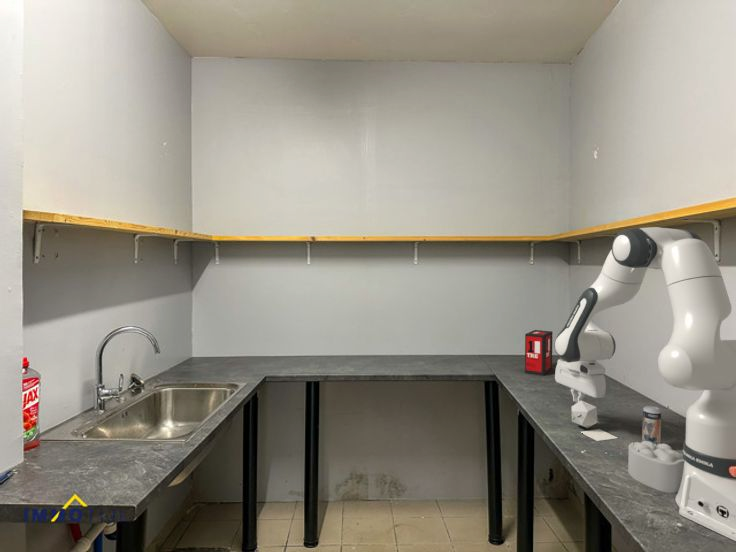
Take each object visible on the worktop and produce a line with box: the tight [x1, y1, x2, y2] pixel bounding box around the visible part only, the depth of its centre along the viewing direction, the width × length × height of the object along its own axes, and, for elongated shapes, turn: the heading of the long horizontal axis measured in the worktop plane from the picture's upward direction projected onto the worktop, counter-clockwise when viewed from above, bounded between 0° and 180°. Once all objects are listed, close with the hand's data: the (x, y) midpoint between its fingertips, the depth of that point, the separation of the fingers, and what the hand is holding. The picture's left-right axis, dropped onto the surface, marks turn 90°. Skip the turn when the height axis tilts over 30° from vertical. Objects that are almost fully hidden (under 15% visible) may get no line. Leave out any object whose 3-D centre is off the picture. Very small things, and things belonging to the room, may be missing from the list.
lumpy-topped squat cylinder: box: [627, 441, 684, 494], centre depth 115 cm, size 10×13×9 cm
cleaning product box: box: [524, 329, 553, 377], centre depth 226 cm, size 16×9×20 cm, turn 143°
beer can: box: [641, 405, 662, 445], centre depth 134 cm, size 5×5×12 cm
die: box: [571, 400, 598, 429], centre depth 149 cm, size 8×9×10 cm
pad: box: [580, 428, 619, 442], centre depth 143 cm, size 8×8×1 cm
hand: (577, 402), depth 152 cm, fingers closed
